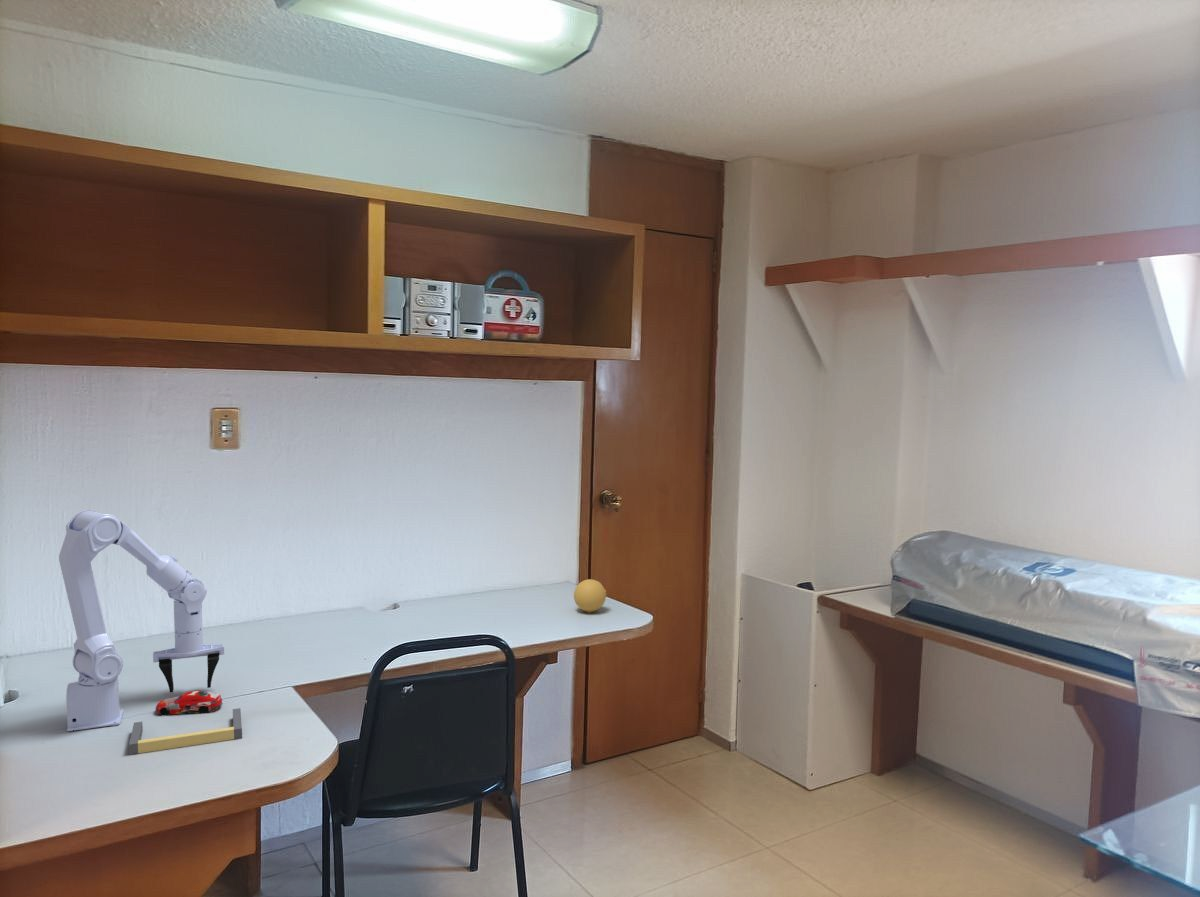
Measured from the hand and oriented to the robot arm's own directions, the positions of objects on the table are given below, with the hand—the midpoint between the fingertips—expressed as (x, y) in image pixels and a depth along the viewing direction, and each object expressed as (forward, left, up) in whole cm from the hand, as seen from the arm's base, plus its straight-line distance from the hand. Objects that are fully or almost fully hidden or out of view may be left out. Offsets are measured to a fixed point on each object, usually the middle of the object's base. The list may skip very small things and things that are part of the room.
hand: (190, 688), depth 199 cm
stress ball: (+111, +30, -2) cm, 115 cm away
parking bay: (0, -24, -1) cm, 24 cm away
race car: (0, -10, -2) cm, 10 cm away
